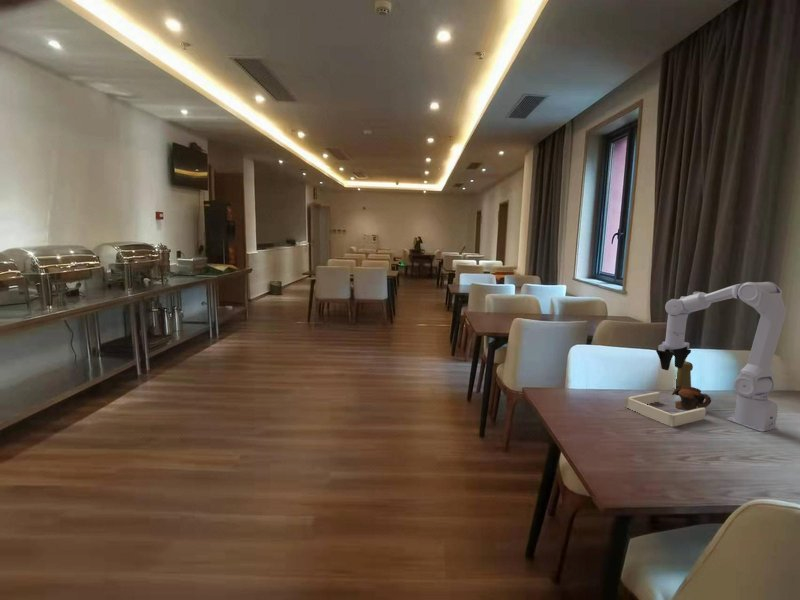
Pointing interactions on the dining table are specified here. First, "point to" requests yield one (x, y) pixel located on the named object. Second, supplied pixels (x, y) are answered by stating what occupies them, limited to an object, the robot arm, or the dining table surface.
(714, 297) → the robot arm
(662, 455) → the dining table surface
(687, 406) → the pottery mug
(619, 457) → the dining table surface
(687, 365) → the cork
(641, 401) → the box
